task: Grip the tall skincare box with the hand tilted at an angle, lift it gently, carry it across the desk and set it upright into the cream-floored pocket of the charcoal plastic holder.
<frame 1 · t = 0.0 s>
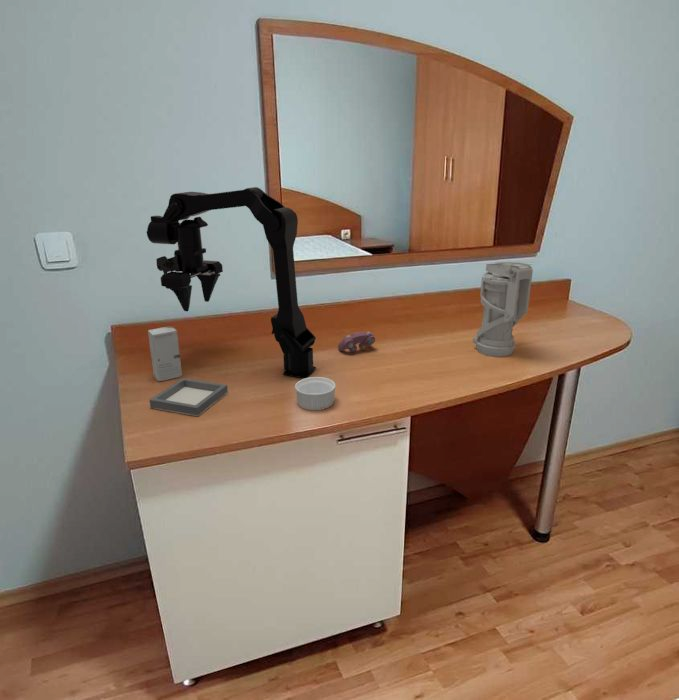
hand: (196, 306, 132), 15 cm above the table, tool pointing down, fingers open, 9 cm apart
video game controller: (356, 351, 143), on the table
skincare box: (168, 376, 127), on the table
ramekin: (315, 403, 113), on the table
holder: (190, 400, 115), on the table
lantern: (497, 352, 141), on the table
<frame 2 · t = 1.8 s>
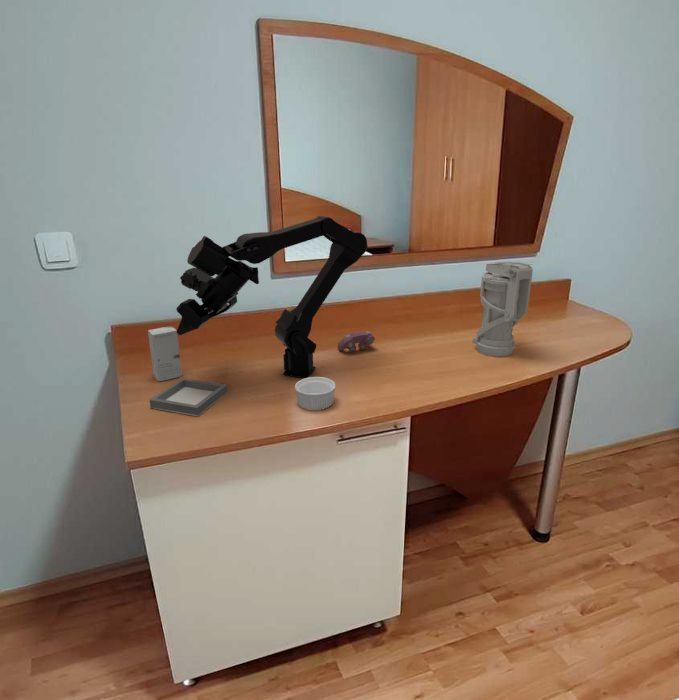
hand: (188, 327, 121), 13 cm above the table, tool tilted 45°, fingers open, 9 cm apart
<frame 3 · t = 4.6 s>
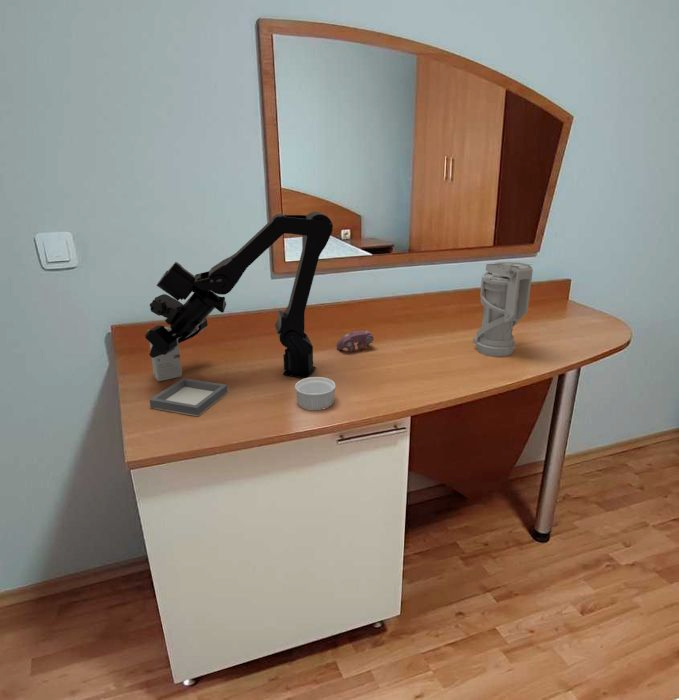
hand: (159, 350, 125), 7 cm above the table, tool tilted 45°, fingers closed on skincare box, 7 cm apart
skincare box: (168, 376, 127), on the table, touching gripper
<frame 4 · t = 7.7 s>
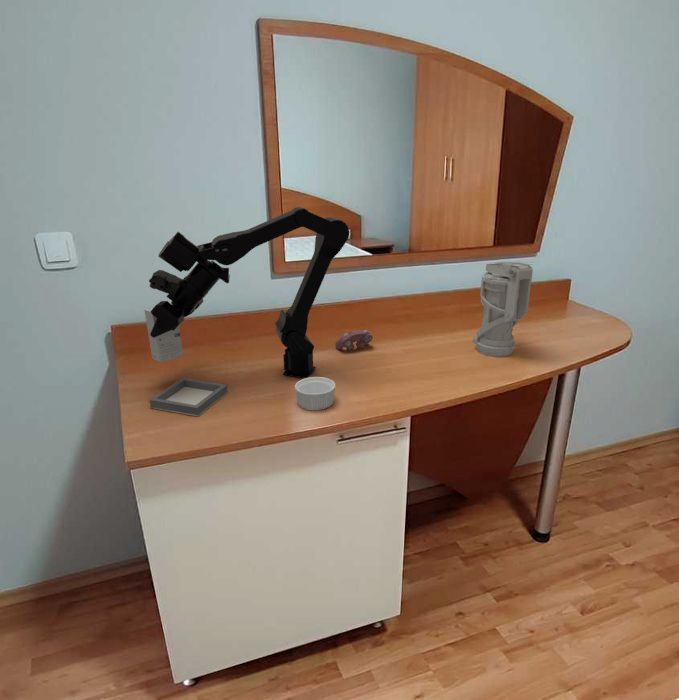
hand: (158, 330, 119), 13 cm above the table, tool tilted 45°, fingers closed on skincare box, 7 cm apart
skincare box: (168, 357, 122), point 6 cm above the table, touching gripper
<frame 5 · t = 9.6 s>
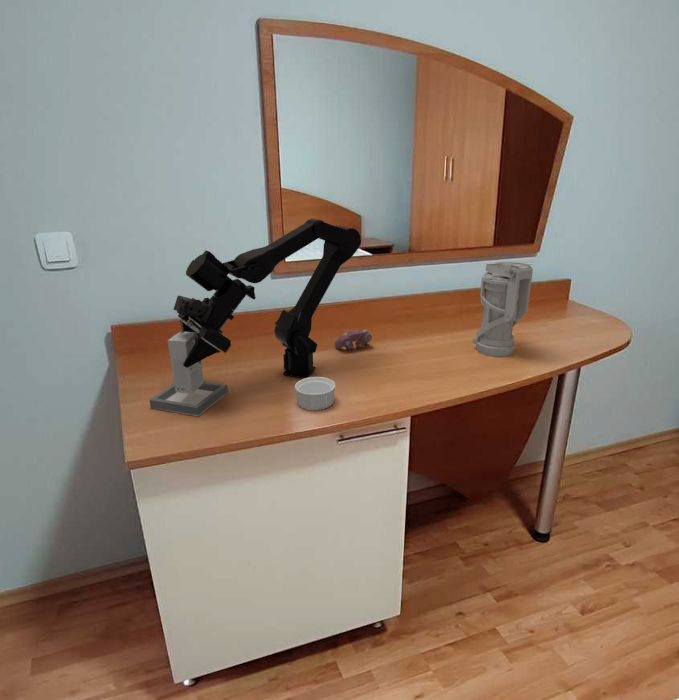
hand: (179, 361, 111), 10 cm above the table, tool tilted 45°, fingers closed on skincare box, 7 cm apart
skincare box: (189, 387, 114), point 3 cm above the table, touching gripper
when the fingers open (8 cm above the table, at t = 11.0 s): skincare box stays where it is, resting on holder.
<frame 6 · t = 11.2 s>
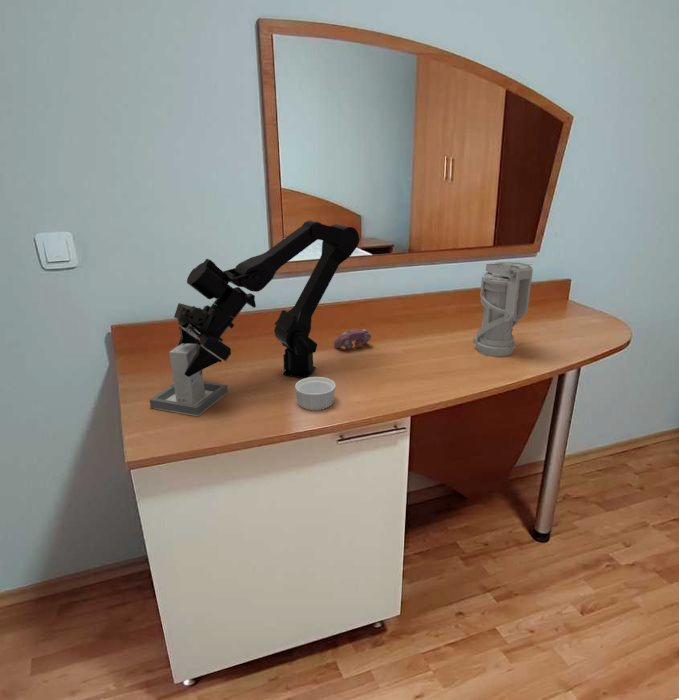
hand: (179, 368, 111), 8 cm above the table, tool tilted 45°, fingers open, 9 cm apart
skincare box: (191, 399, 115), resting on holder
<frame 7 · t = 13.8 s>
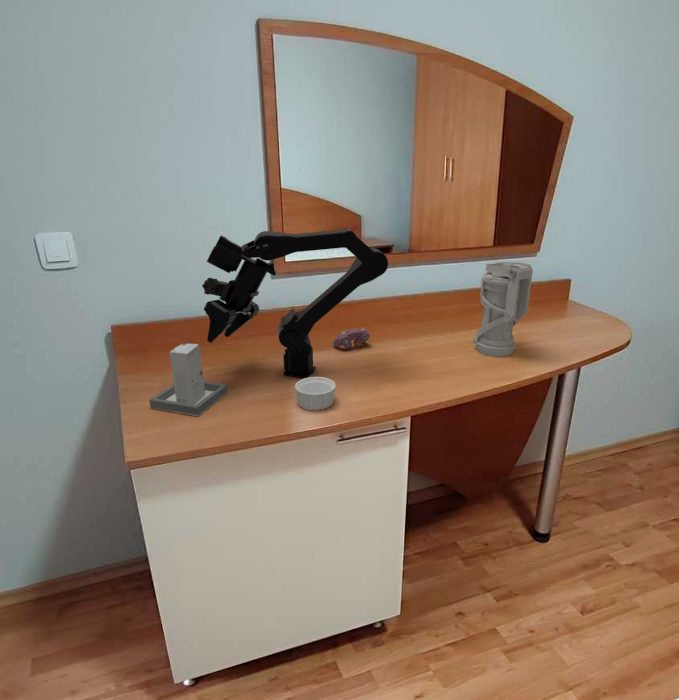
hand: (217, 338, 122), 10 cm above the table, tool tilted 30°, fingers open, 9 cm apart
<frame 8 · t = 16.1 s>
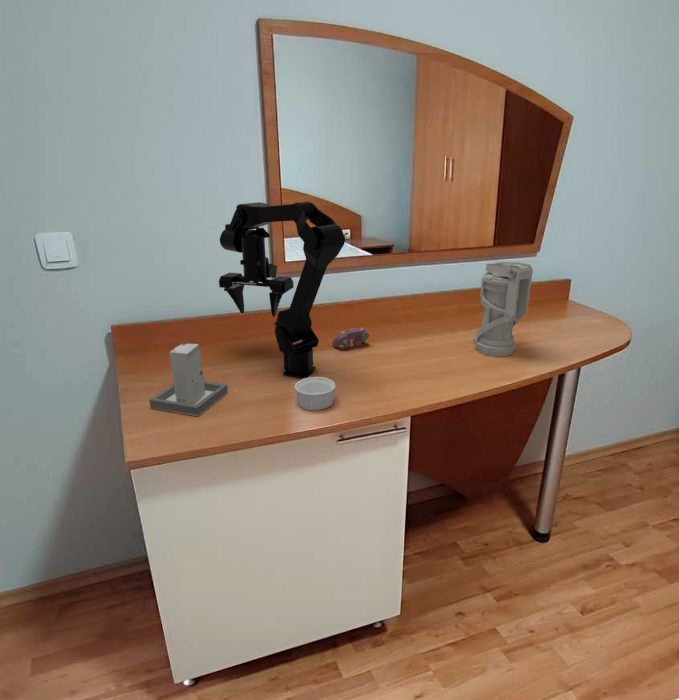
hand: (258, 314, 134), 12 cm above the table, tool pointing down, fingers open, 9 cm apart
at the end: skincare box 0.3 cm off-centre on the holder, point 0.1 cm above the holder's base; skincare box tilted 0°; the gripper is holding nothing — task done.
